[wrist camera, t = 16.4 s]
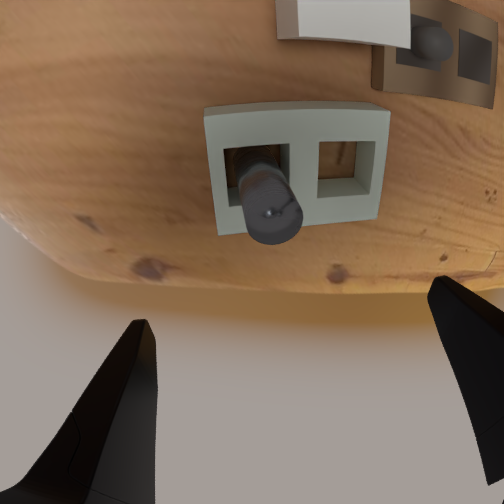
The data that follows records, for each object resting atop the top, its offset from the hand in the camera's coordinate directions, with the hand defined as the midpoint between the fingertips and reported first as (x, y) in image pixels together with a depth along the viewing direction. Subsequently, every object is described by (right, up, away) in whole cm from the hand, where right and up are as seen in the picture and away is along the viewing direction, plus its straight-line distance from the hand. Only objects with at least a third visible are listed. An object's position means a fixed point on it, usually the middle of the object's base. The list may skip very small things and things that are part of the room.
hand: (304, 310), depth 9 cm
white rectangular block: (+2, +16, +4) cm, 16 cm away
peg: (-1, +7, +10) cm, 12 cm away
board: (+10, +15, +6) cm, 19 cm away
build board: (+1, +7, +10) cm, 12 cm away
